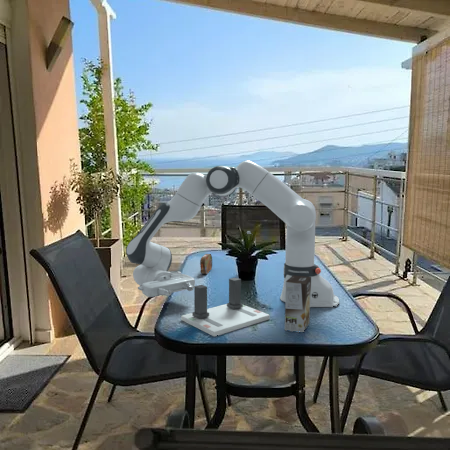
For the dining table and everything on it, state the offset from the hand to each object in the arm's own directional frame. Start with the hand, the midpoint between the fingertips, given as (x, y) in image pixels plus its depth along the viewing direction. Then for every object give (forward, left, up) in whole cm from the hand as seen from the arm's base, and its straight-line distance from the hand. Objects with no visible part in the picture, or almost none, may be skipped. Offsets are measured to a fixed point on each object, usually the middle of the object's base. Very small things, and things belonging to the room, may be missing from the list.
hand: (180, 291), depth 151 cm
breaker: (-19, -4, -6) cm, 20 cm away
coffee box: (-41, +6, -8) cm, 42 cm away
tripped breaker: (-9, +7, -6) cm, 13 cm away
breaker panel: (-17, +4, -8) cm, 19 cm away
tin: (+4, -58, -8) cm, 58 cm away
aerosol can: (-16, -63, -8) cm, 65 cm away
